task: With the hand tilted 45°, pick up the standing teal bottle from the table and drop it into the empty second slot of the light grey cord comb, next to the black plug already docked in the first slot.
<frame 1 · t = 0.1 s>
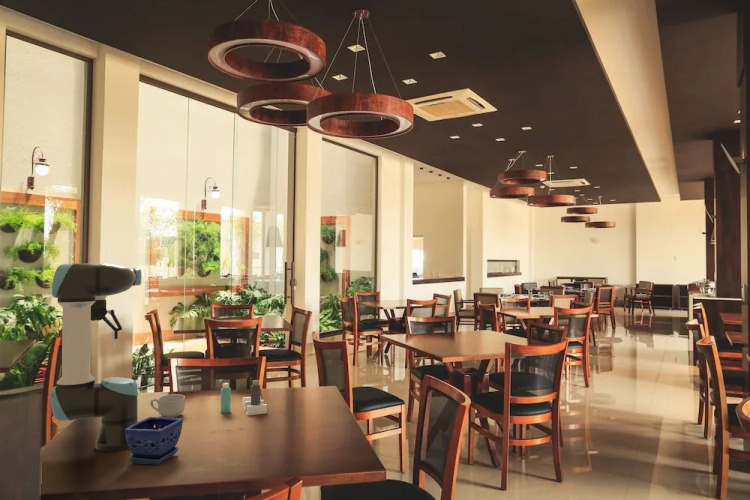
hand: (96, 347, 227), 28 cm above the table, tool pointing down, fingers open, 13 cm apart
teacup: (167, 416, 220), on the table
teal bottle: (225, 414, 222), on the table
flower pot: (154, 459, 171), on the table
cord comb: (254, 411, 226), on the table
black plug: (255, 411, 223), point 1 cm above the table, touching cord comb
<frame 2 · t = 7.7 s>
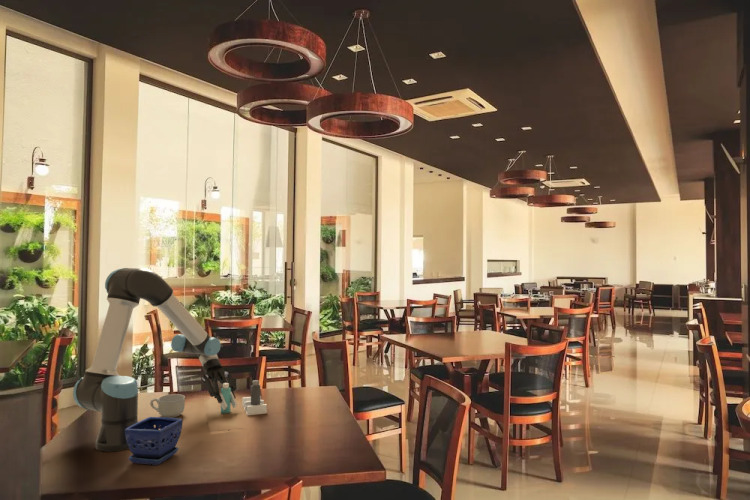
hand: (230, 407, 220), 4 cm above the table, tool tilted 45°, fingers closed on teal bottle, 4 cm apart
teal bottle: (225, 414, 222), on the table, touching gripper
everything else where it was.
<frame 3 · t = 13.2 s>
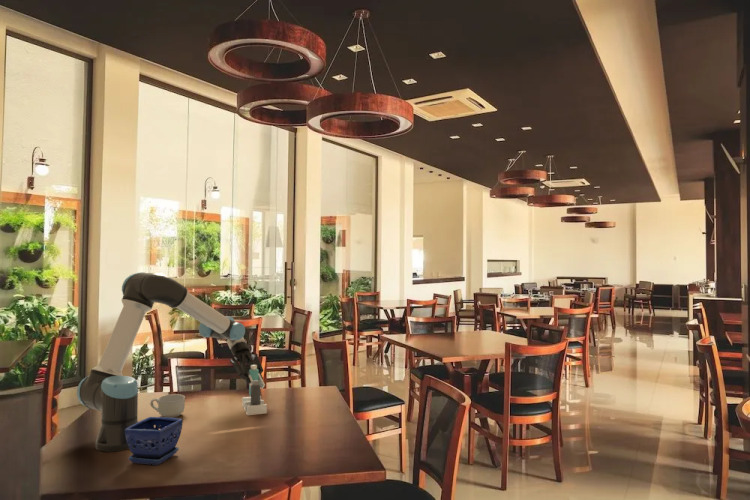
hand: (258, 387, 228), 10 cm above the table, tool tilted 45°, fingers closed on teal bottle, 4 cm apart
teal bottle: (253, 394, 230), point 6 cm above the table, touching gripper
everything else where it was.
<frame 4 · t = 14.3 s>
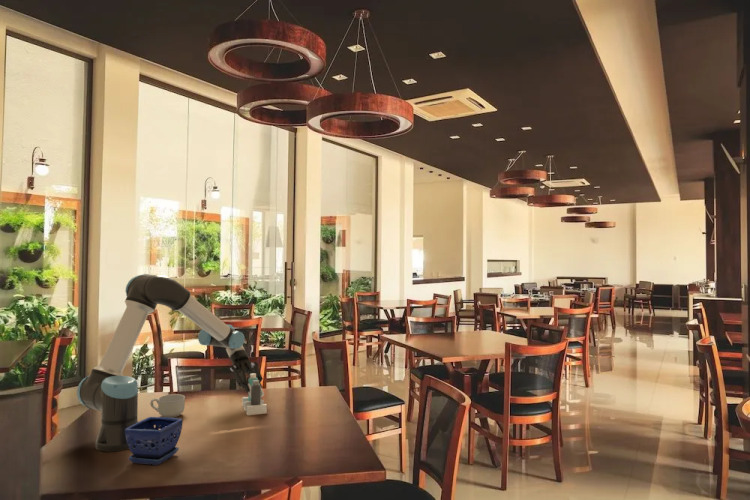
hand: (257, 396, 227), 6 cm above the table, tool tilted 45°, fingers closed on teal bottle, 4 cm apart
teal bottle: (253, 403, 230), point 3 cm above the table, touching gripper
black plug: (255, 411, 223), point 1 cm above the table, touching cord comb, gripper
everything else where it was.
when the fingers open (6 cm above the table, at t = 14.5 s): teal bottle drops 1 cm, resting on cord comb.
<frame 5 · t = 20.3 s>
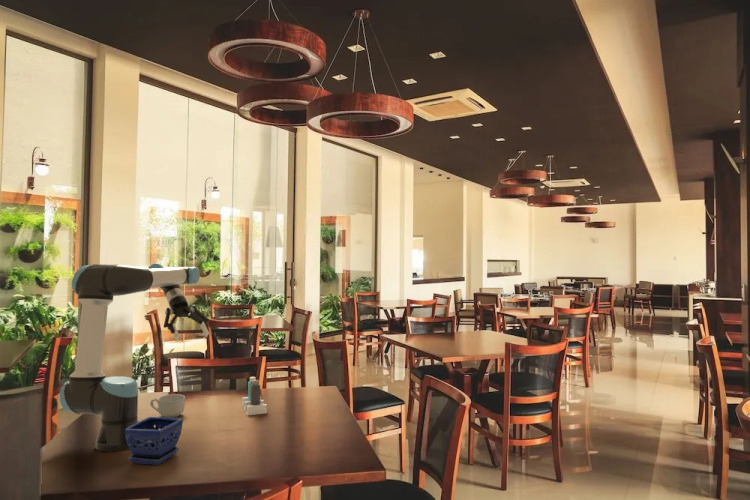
hand: (192, 336, 227), 33 cm above the table, tool tilted 45°, fingers open, 13 cm apart
teal bottle: (252, 406, 230), point 1 cm above the table, touching cord comb
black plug: (255, 411, 223), point 1 cm above the table, touching cord comb
everything else where it was.
at the end: teal bottle 0.1 cm from the target spot on the cord comb, point 1.0 cm above the cord comb's base; teal bottle tilted 1°; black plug moved 0.0 cm from its start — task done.
